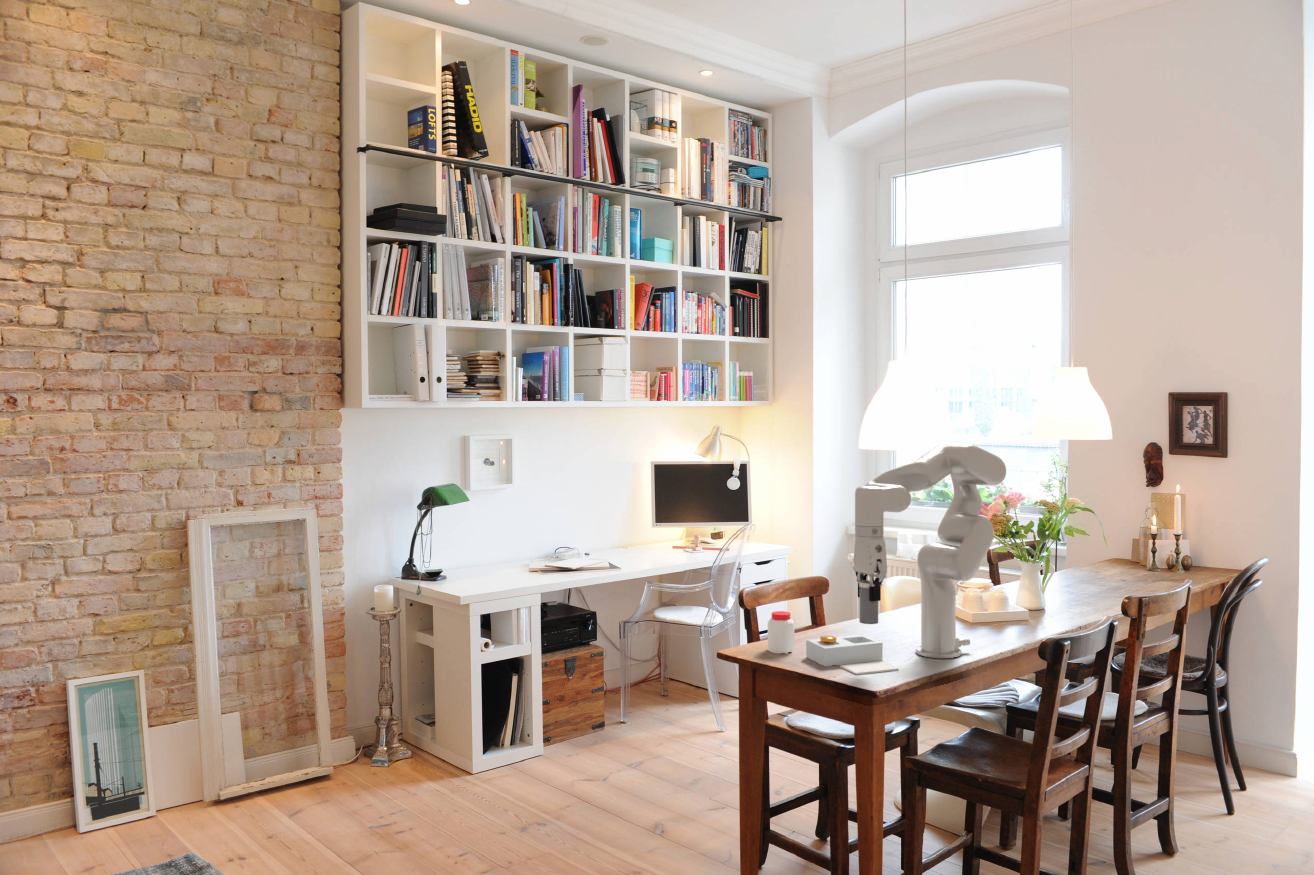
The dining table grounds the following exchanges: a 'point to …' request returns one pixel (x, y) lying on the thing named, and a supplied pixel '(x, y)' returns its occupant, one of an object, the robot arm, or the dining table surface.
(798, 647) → the dining table surface
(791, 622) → the pill bottle
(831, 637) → the plunger
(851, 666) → the mat
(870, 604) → the cylinder
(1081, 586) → the dining table surface
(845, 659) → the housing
